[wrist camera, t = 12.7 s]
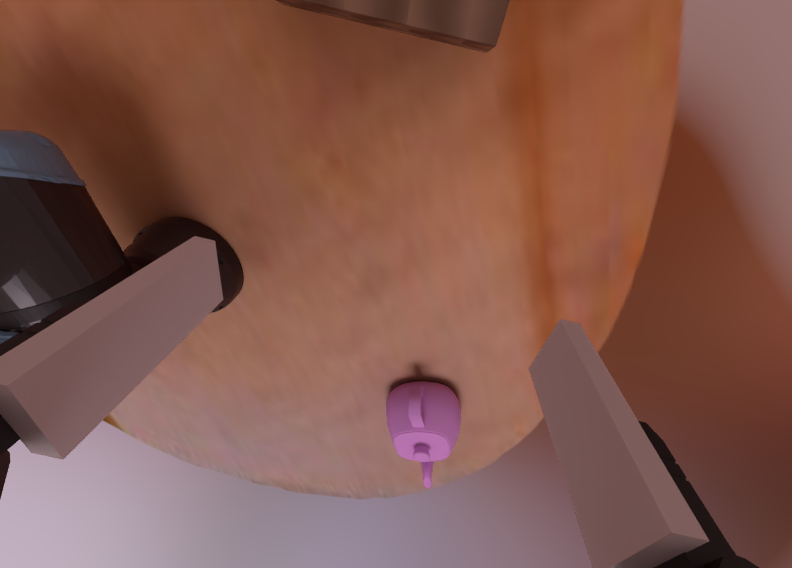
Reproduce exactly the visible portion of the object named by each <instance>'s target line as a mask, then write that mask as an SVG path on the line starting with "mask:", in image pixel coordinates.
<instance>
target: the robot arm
mask: <svg viewBox="0 0 792 568" xmlns="http://www.w3.org/2000/svg"><path fill="white" fill-rule="evenodd" d="M85 186H86V184H85V182H84V181H83V180H81V179H80V178H79V177H78V175H77V174H76V172H75V171H74V169H73V168H72V166H71V165H70V163H69V162H68V160H67V159H66V157H65V156H64V154H63V153H62V151H61V150H60V148H59V147H58V146H57V145H56V144H55V143H53V142H52V141H51V140H49V139H48V138H46V137H44V136H41V135H39V134H36V133H33V132H28V131H17V130H0V498H1V494H2V491H3V486H4V483H5V479H6V475H7V472H8V468H9V464H10V453H9V452H8V451H7V449H9V448H10V447H11V446H12V445H13V444H15V443H16V442H17V441H18V440H19V439H20V440H21V441H22V442H23V443H24V444H25V445H26V447H27V448H28V449H29V450H30V451H31V453H36V454H40V455H45V456H49V457H54V458H59V459H64V458H65V457H66V456H67V455H68V454H69V453H70V452H71V451H72V450H73V449H74V448H75V447H76V446H77V445H78V444H79V443H80V442H81V441H82V440H83V439H84V438H85V437H86V436H87V435H88V434H89V433H90V432H91V431H92V430H93V429H94V428H95V427H96V426H97V425H98V424H99V423H100V422H101V421H102V420H103V419H104V418H105V417H106V416H107V415H108V414H109V413H110V412H111V411H112V410H113V409H114V408H115V407H116V406H117V405H118V404H119V403H120V402H121V401H122V400H123V399H124V398H125V397H126V396H127V395H128V394H129V393H130V392H131V391H132V390H133V389H134V388H135V387H136V386H137V385H138V384H139V383H140V382H141V381H142V380H143V379H144V378H145V377H146V376H147V375H148V374H149V373H150V372H151V371H152V370H153V369H154V368H155V367H156V366H157V365H158V364H159V363H160V362H161V361H162V360H163V359H164V358H165V357H166V356H167V355H168V354H169V353H170V352H171V351H172V350H173V349H174V348H175V347H176V346H177V345H178V344H179V343H180V342H181V341H182V340H183V339H184V338H185V337H186V336H187V335H188V334H189V333H190V332H191V331H192V330H193V329H194V328H195V327H196V326H197V325H198V324H199V323H200V322H201V321H202V320H203V319H204V318H205V317H206V316H207V315H209V314H210V313H212V312H216V311H218V310H221V309H223V308H224V307H226V306H227V305H228V304H230V303H231V302H232V301H233V299H234V298H235V297H236V296H237V295H238V294H239V292H240V291H241V288H242V285H243V272H242V268H241V265H240V262H239V260H238V258H237V256H236V255H235V253H234V252H233V250H232V249H231V247H230V246H229V245H228V244H227V243H226V242H225V241H224V240H223V239H222V238H221V237H220V236H219V235H218V234H216V233H215V232H214V231H212V230H211V229H209V228H207V227H206V226H204V225H202V224H200V223H198V222H195V221H192V220H189V219H185V218H179V217H169V218H164V219H161V220H158V221H156V222H154V223H152V224H150V225H148V226H146V227H145V228H143V229H142V230H141V231H140V232H139V233H138V234H137V236H136V237H135V239H134V241H133V243H132V244H131V245H129V246H128V247H127V248H126V249H125V250H124V252H123V251H122V249H121V247H120V246H119V244H118V242H117V241H116V239H115V237H114V236H113V234H112V232H111V231H110V229H109V227H108V226H107V224H106V222H105V221H104V219H103V217H102V215H101V214H100V212H99V210H98V209H97V207H96V205H95V204H94V202H93V200H92V198H91V196H90V195H89V193H88V191H87V189H86V188H85ZM529 371H530V374H531V377H532V380H533V383H534V386H535V389H536V393H537V396H538V399H539V402H540V405H541V408H542V411H543V414H544V417H545V420H546V423H547V427H548V430H549V433H550V436H551V439H552V442H553V445H554V448H555V452H556V455H557V458H558V461H559V464H560V467H561V470H562V473H563V477H564V480H565V483H566V486H567V489H568V492H569V495H570V498H571V501H572V505H573V508H574V511H575V514H576V517H577V520H578V523H579V526H580V529H581V532H582V536H583V539H584V542H585V545H586V548H587V551H588V554H589V558H590V560H591V564H592V567H593V568H759V567H757V566H755V565H754V564H753V563H751V562H749V561H748V560H747V559H745V558H742V557H739V556H737V555H736V554H735V552H734V551H733V550H732V549H731V547H730V545H729V544H728V542H727V541H726V539H725V538H724V536H723V534H722V533H721V531H720V530H719V528H718V526H717V525H716V523H715V522H714V520H713V519H712V517H711V515H710V514H709V512H708V511H707V509H706V508H705V506H704V504H703V503H702V501H701V500H700V498H699V497H698V495H697V493H696V492H695V490H694V489H693V487H692V485H691V484H690V482H688V481H686V476H685V475H684V473H683V471H682V470H681V469H680V467H679V465H678V464H676V463H675V459H674V457H673V456H672V454H671V452H670V451H669V449H668V448H667V446H666V444H665V443H664V442H663V440H662V439H661V438H660V437H659V436H658V435H657V434H656V433H655V432H654V431H653V430H652V429H651V428H650V427H649V425H648V424H647V423H645V422H640V421H638V420H637V419H636V417H635V415H634V413H633V412H632V410H631V408H630V407H629V405H628V403H627V402H626V400H625V398H624V397H623V395H622V394H621V392H620V390H619V388H618V387H617V385H616V383H615V382H614V380H613V378H612V377H611V375H610V374H609V372H608V370H607V368H606V367H605V365H604V363H603V362H602V360H601V358H600V356H599V355H598V353H597V351H596V350H595V348H594V346H593V345H592V343H591V341H590V340H589V338H588V336H587V335H586V333H585V331H584V330H583V328H582V326H581V325H580V324H579V323H575V322H571V321H566V320H562V319H560V320H559V321H558V323H557V325H556V326H555V328H554V329H553V331H552V333H551V334H550V336H549V337H548V339H547V340H546V342H545V344H544V345H543V347H542V348H541V350H540V352H539V353H538V355H537V356H536V358H535V359H534V361H533V363H532V364H531V366H530V367H529Z"/></svg>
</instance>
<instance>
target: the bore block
mask: <svg viewBox="0 0 792 568" xmlns="http://www.w3.org/2000/svg"><path fill="white" fill-rule="evenodd" d="M276 1H278V2H280V3H282V4H284V5H288V6H292V7H296V8H301V9H305V10H309V11H313V12H317V13H322V14H326V15H330V16H334V17H338V18H343V19H347V20H351V21H355V22H360V23H364V24H368V25H372V26H376V27H381V28H385V29H389V30H393V31H397V32H402V33H406V34H410V35H414V36H419V37H423V38H427V39H431V40H435V41H440V42H444V43H448V44H452V45H456V46H461V47H465V48H469V49H473V50H478V51H482V52H488V51H489V50H491V49H492V48H494V47H495V46H496V44H497V40H498V37H499V34H500V30H501V27H502V24H503V20H504V17H505V14H506V10H507V7H508V4H509V0H276Z"/></svg>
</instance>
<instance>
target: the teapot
mask: <svg viewBox="0 0 792 568" xmlns="http://www.w3.org/2000/svg"><path fill="white" fill-rule="evenodd" d="M386 416H387V424H388V428H389V432H390V435H391V438H392V441H393V444H394V446H395V449H396V451H397V453H398V454H399V455H400V456H401V457H403V458H405V459H408V460H413V461H419V462H421V464H422V471H423V482H424V486H425V487H426V488H430V487H431V476H432V468H433V463H434V461H440V460H443V459H446V458H447V457H449V455H450V453H451V452H452V450H453V447H454V445H455V443H456V440H457V438H458V434H459V429H460V421H461V409H460V404H459V401H458V399H457V397H456V395H455V394H454V392H453V391H452V390H451V389H450V388H449V387H447V386H446V385H443V384H440V383H435V382H427V381H416V382H409V383H405V384H402V385H399V386H397V387H396V388H395V389H394V390H392V391H391V392H390V394H389V395H388V397H387V402H386Z"/></svg>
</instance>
